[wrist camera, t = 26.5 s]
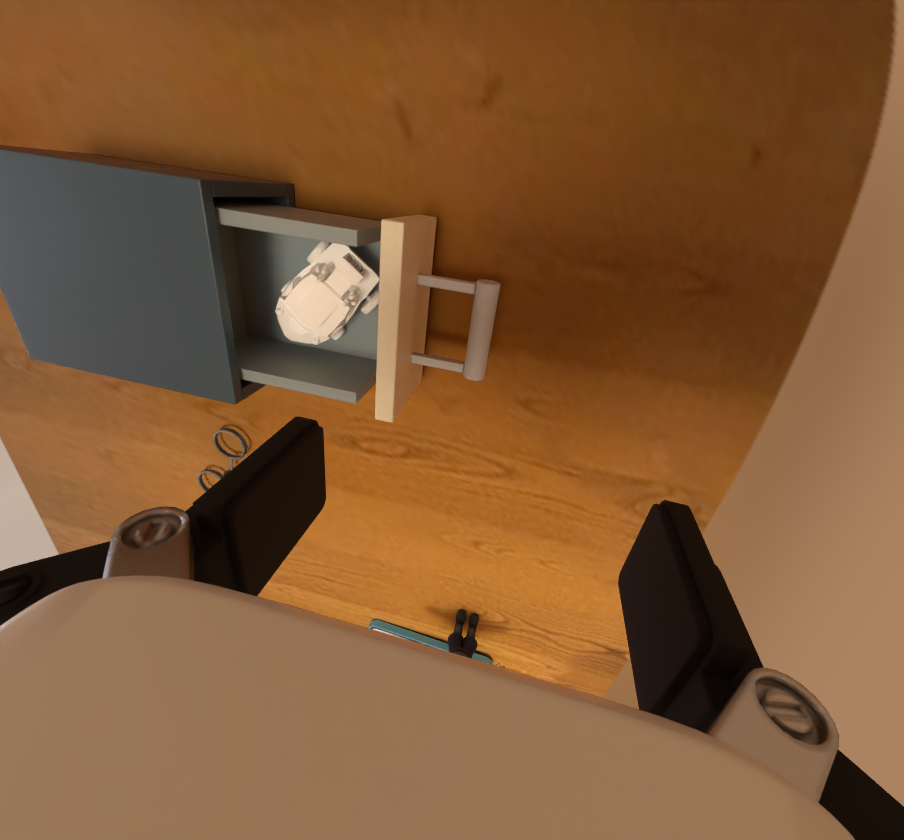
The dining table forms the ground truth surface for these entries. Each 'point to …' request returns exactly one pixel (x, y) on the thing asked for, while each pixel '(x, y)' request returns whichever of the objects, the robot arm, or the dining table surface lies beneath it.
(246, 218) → the drawer
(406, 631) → the smartphone
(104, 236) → the cabinet
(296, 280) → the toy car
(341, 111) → the dining table surface
